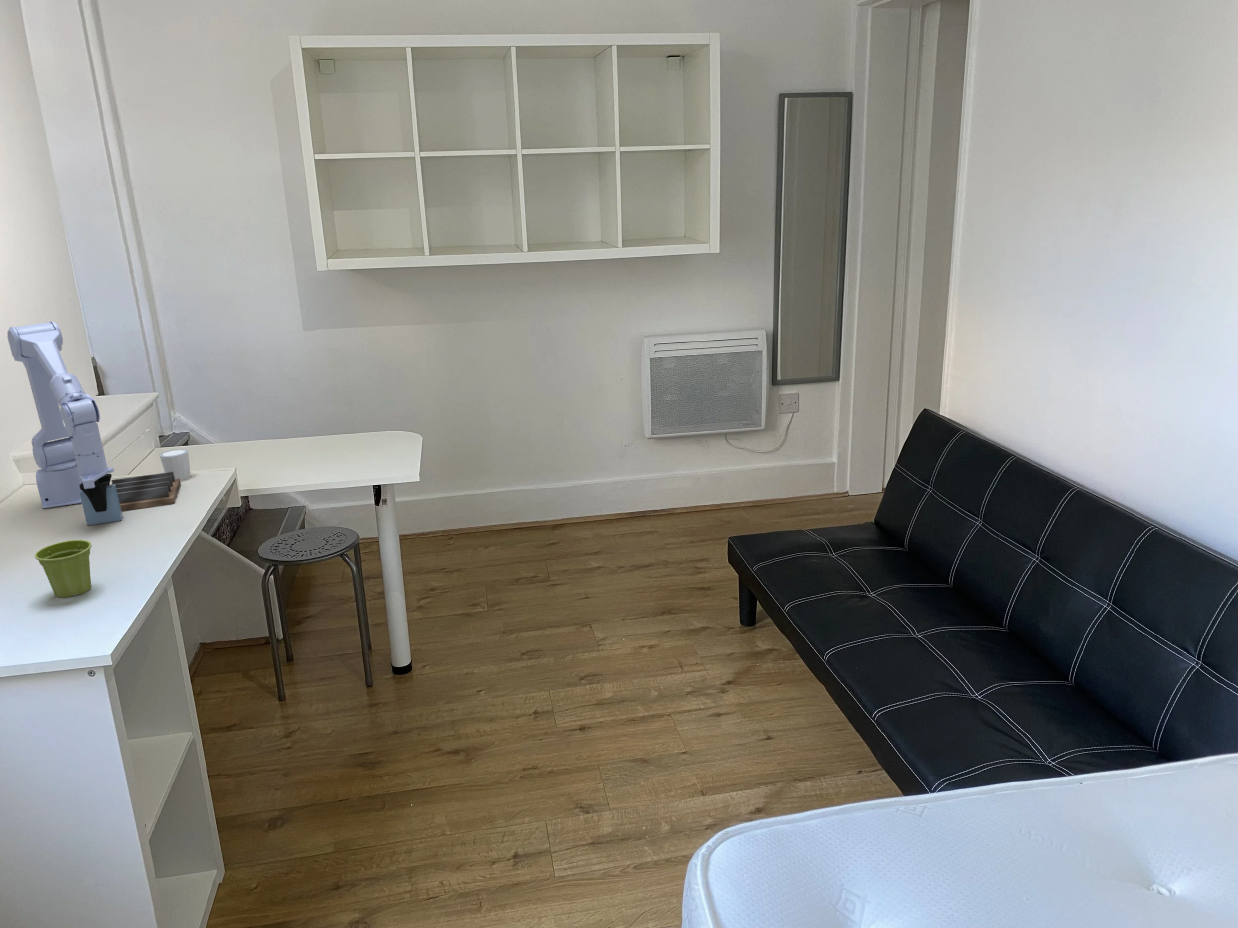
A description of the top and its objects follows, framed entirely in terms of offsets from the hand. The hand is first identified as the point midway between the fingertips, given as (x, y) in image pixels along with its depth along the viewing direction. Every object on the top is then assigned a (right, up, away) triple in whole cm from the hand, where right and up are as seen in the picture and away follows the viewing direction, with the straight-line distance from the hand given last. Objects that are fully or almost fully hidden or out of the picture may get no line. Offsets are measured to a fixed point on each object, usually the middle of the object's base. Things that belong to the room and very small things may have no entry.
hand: (102, 509), depth 214 cm
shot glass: (+3, +6, +30) cm, 31 cm away
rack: (+1, +2, +15) cm, 16 cm away
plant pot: (+14, -14, -36) cm, 41 cm away
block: (0, -3, +1) cm, 3 cm away
